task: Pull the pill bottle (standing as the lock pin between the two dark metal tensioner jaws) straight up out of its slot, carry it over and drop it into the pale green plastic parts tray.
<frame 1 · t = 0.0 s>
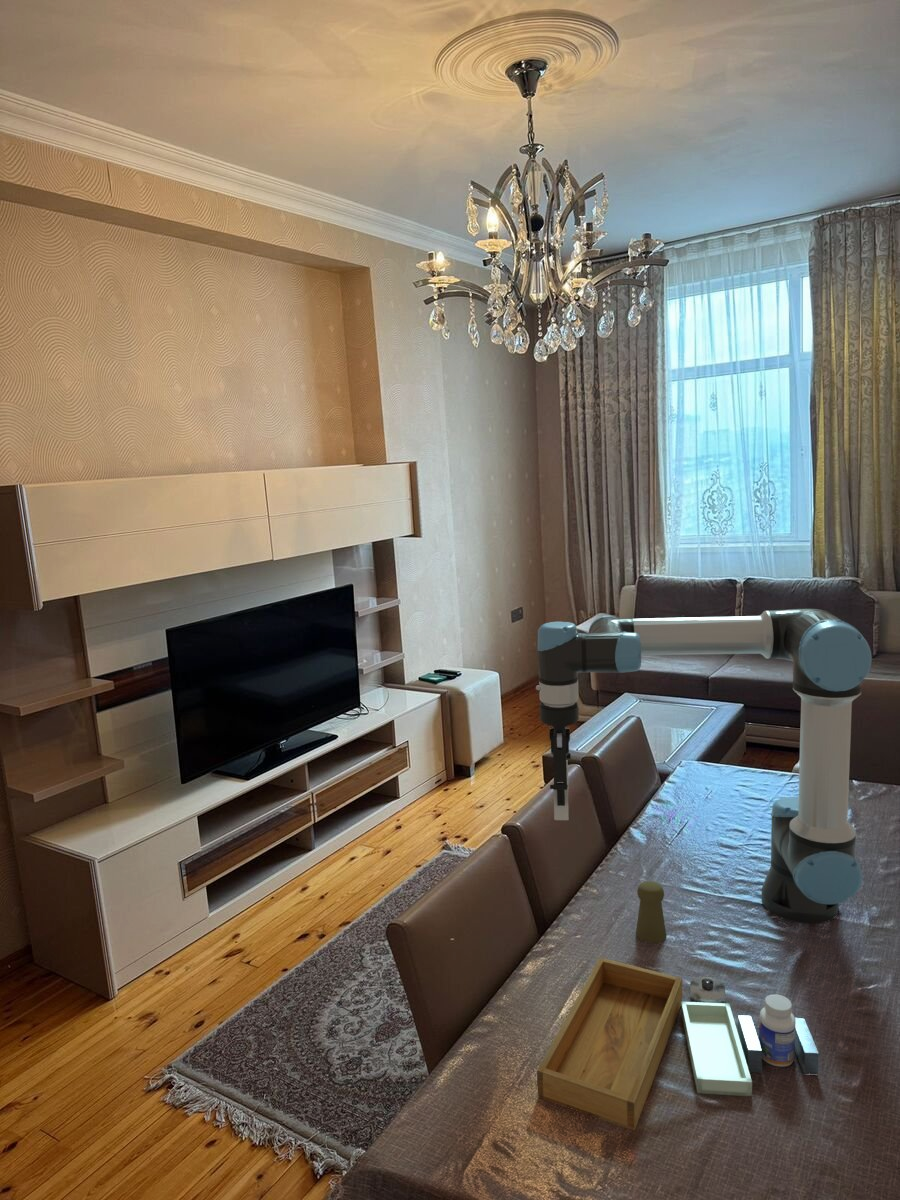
hand: (561, 804, 165), 28 cm above the table, fingers open, 13 cm apart
tray: (615, 1051, 138), on the table
pulley: (707, 997, 149), on the table
tensioner jaws: (776, 1055, 134), on the table
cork: (651, 935, 168), on the table
pill bottle: (776, 1057, 134), on the table
parts tray: (714, 1052, 135), on the table
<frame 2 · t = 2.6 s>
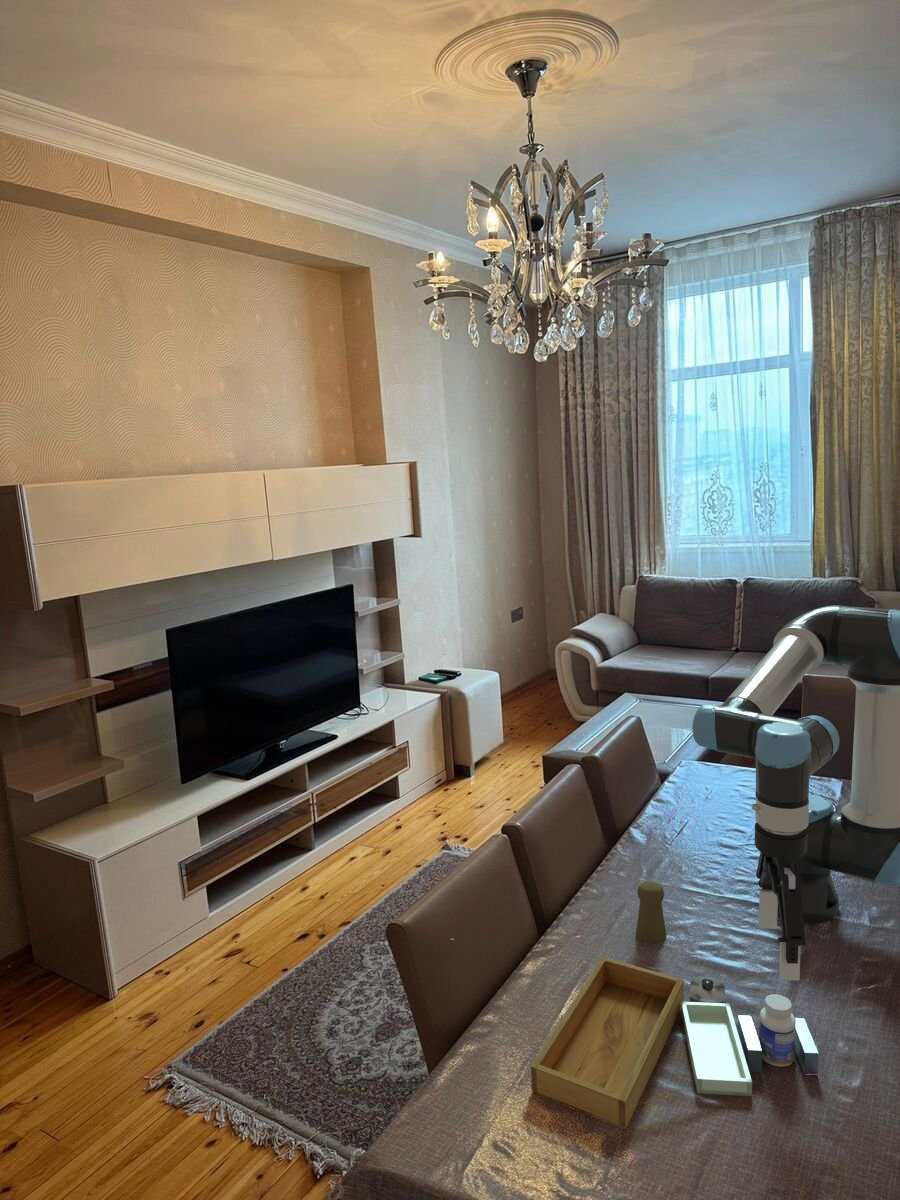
hand: (778, 951, 131), 18 cm above the table, fingers open, 13 cm apart
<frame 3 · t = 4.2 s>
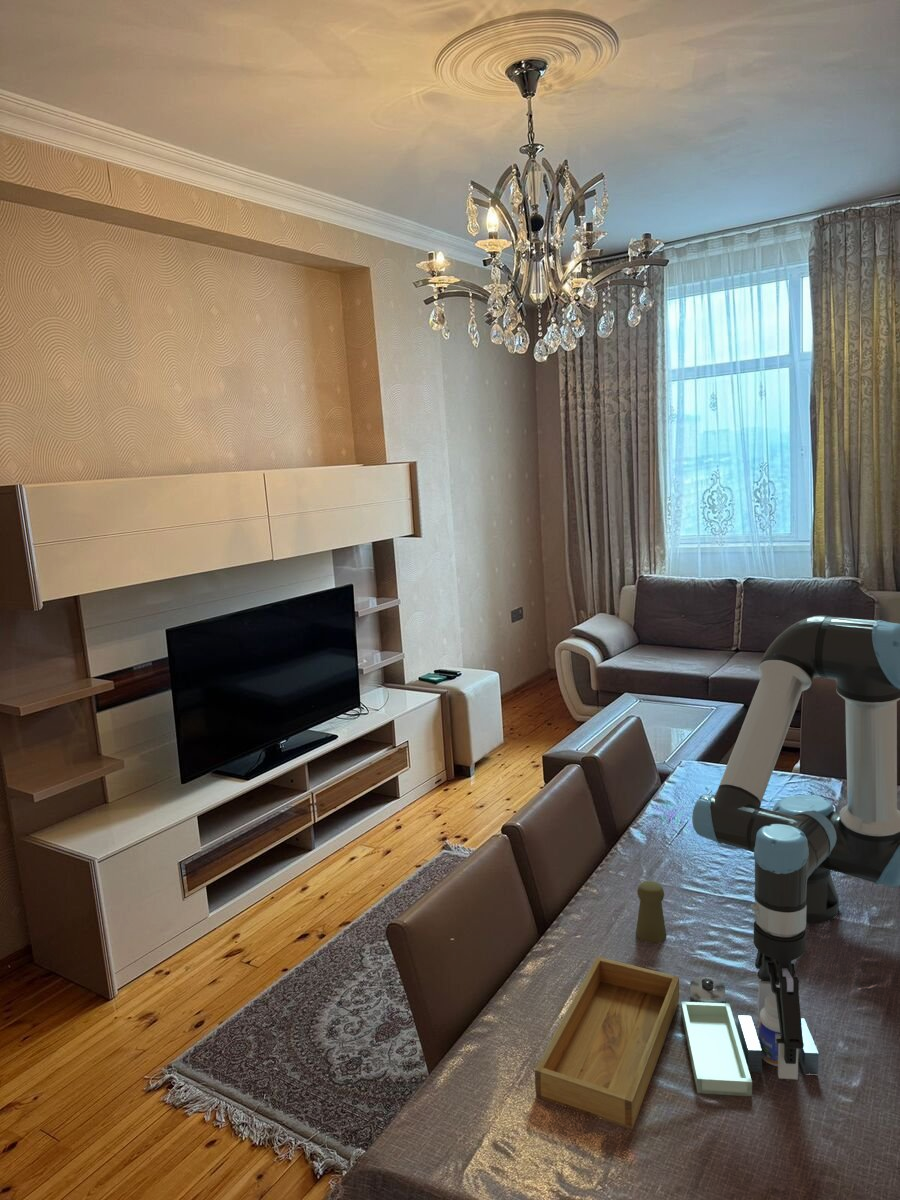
hand: (776, 1045, 134), 2 cm above the table, fingers open, 13 cm apart
nothing on the table moved.
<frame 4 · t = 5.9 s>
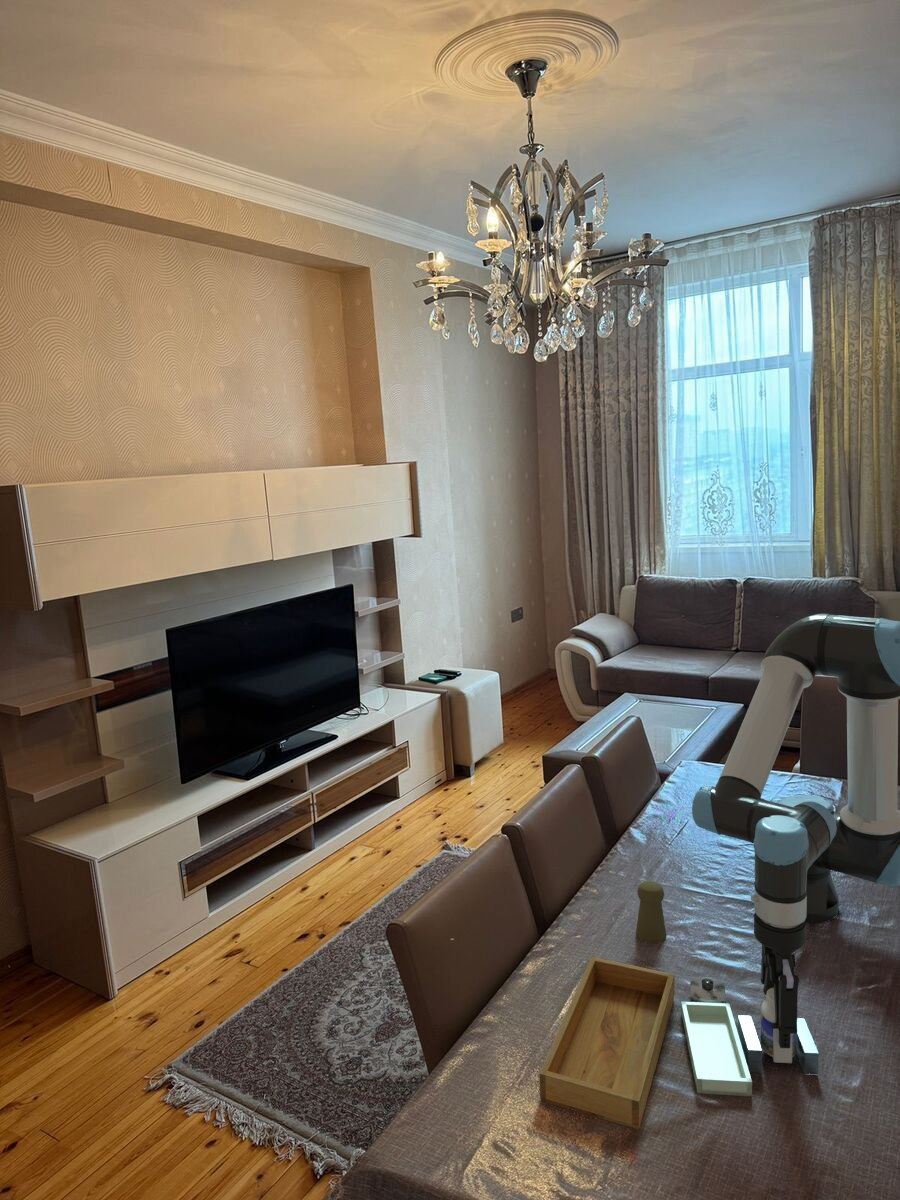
hand: (777, 1046, 134), 1 cm above the table, fingers closed on pill bottle, 5 cm apart
pill bottle: (778, 1049, 134), point 1 cm above the table, touching gripper
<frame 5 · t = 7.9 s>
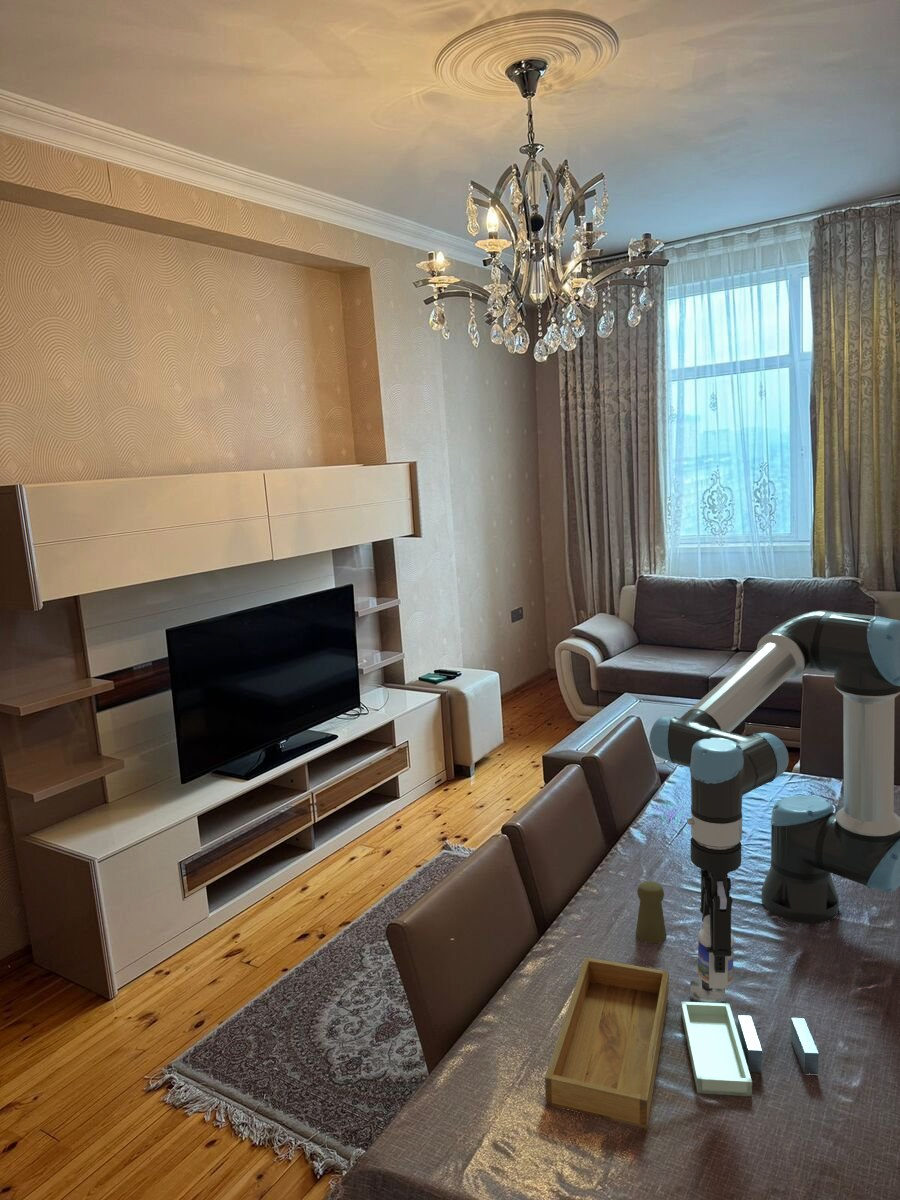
hand: (714, 974, 133), 14 cm above the table, fingers closed on pill bottle, 5 cm apart
pill bottle: (715, 977, 133), point 14 cm above the table, touching gripper
when the fingers open (3 cm above the table, at t = 10.2 s): pill bottle drops 2 cm, resting on parts tray.
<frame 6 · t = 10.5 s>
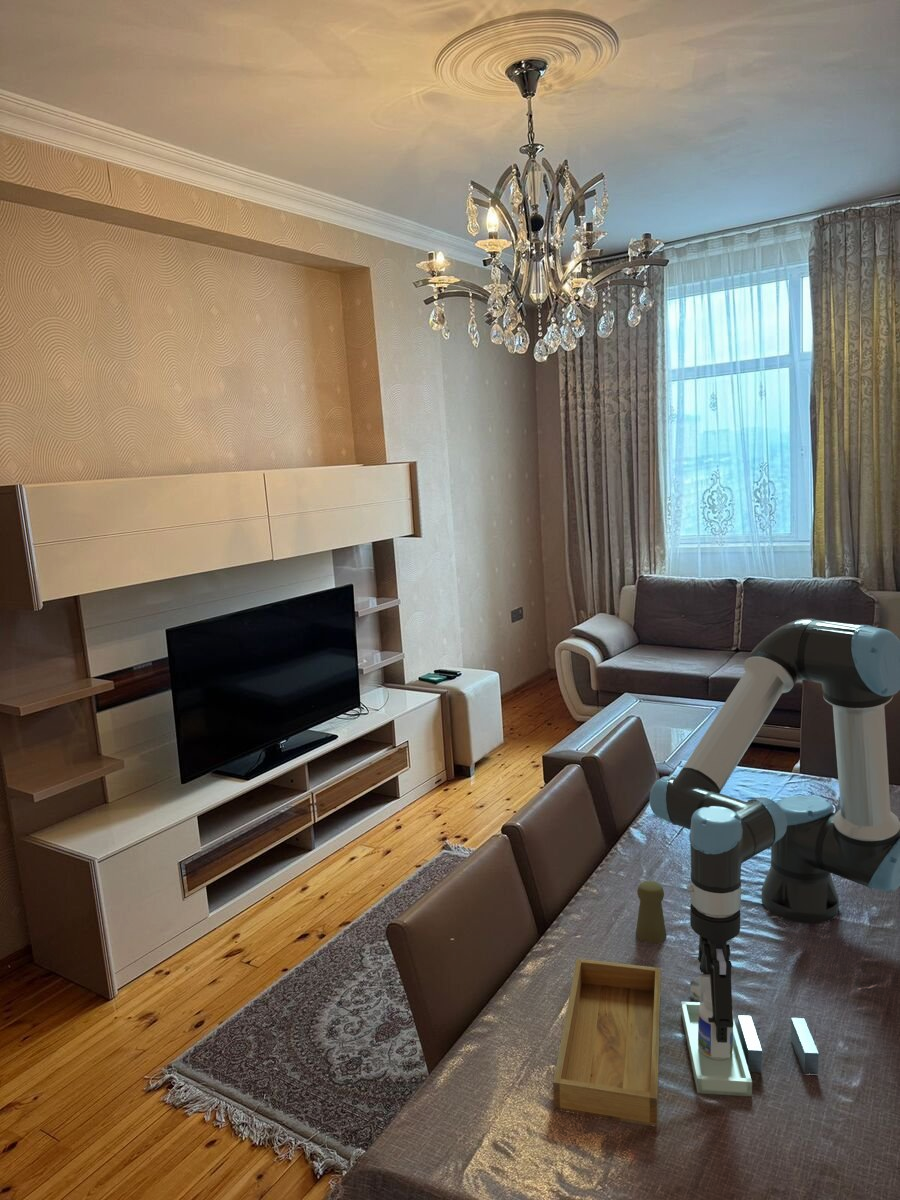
hand: (714, 1032, 135), 4 cm above the table, fingers open, 10 cm apart
pill bottle: (715, 1050, 135), resting on parts tray
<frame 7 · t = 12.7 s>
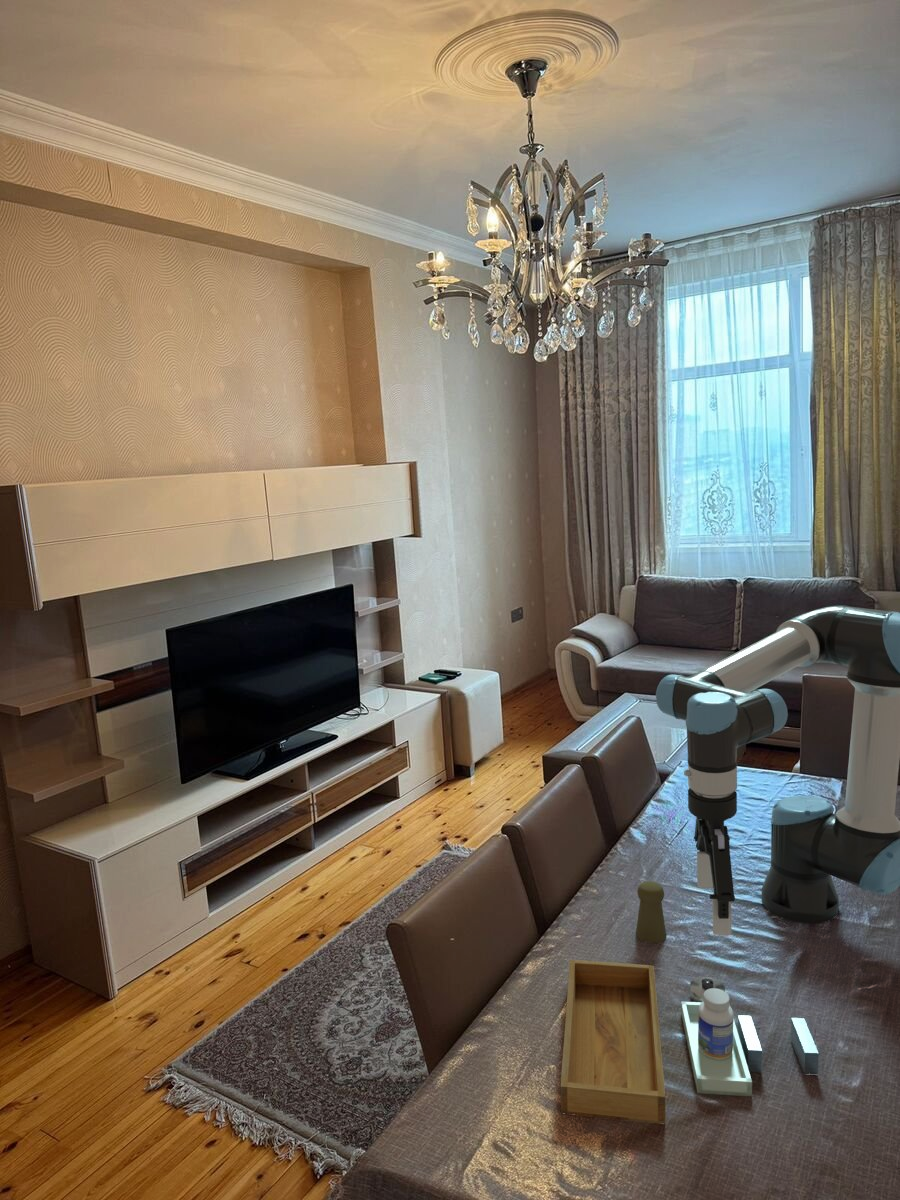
hand: (713, 909, 138), 22 cm above the table, fingers open, 13 cm apart
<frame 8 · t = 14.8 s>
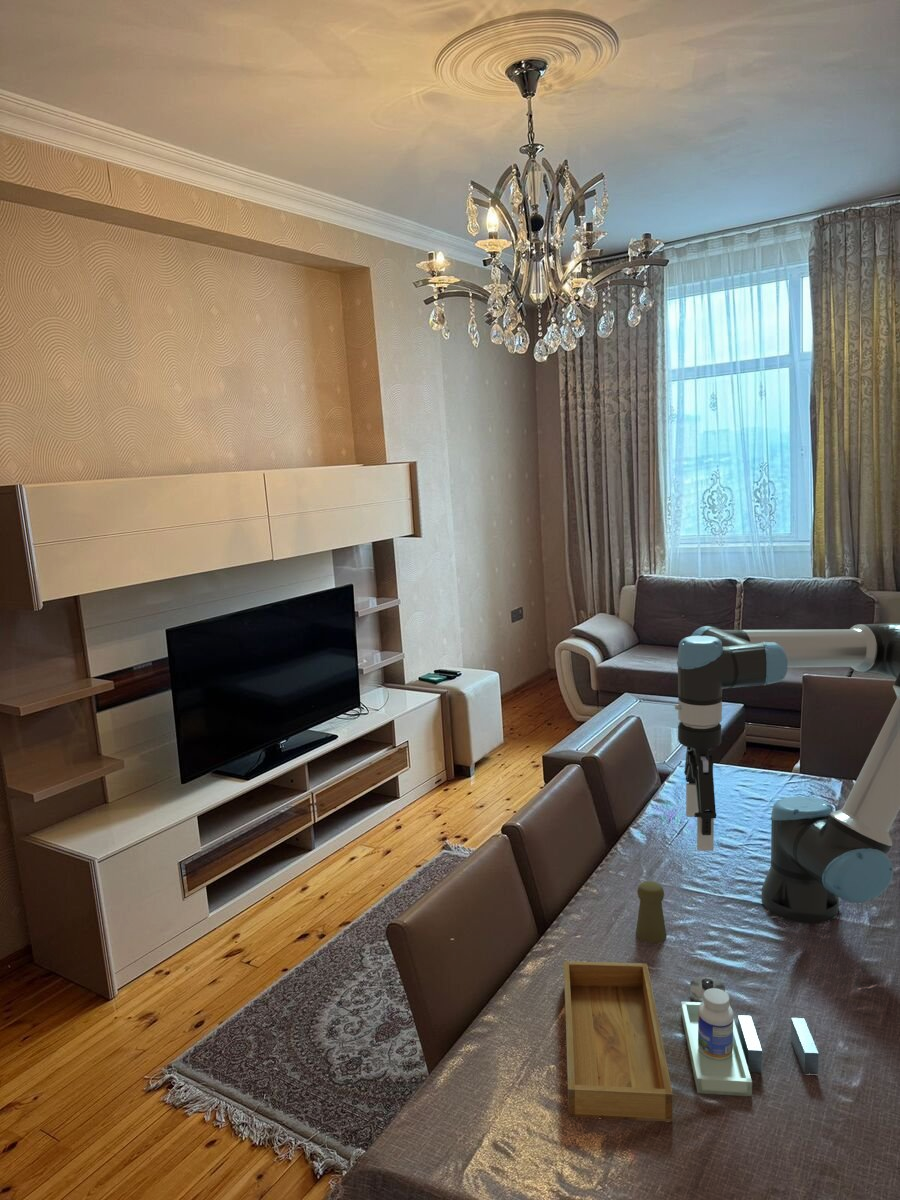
hand: (699, 832, 154), 27 cm above the table, fingers open, 13 cm apart
at the end: pill bottle inside the target area on the parts tray (0.2 cm from its centre), point 0.4 cm above the parts tray's base; the gripper is holding nothing; pill bottle moved 9.5 cm from its start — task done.
